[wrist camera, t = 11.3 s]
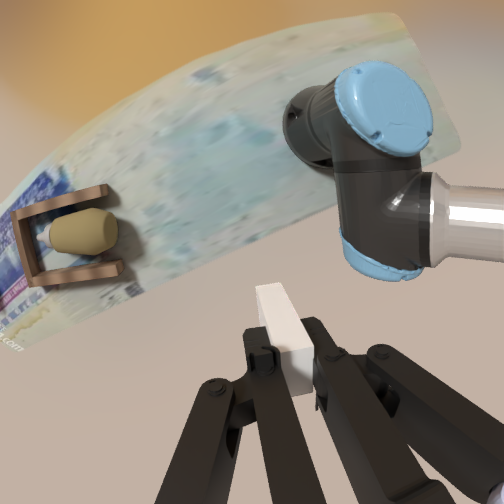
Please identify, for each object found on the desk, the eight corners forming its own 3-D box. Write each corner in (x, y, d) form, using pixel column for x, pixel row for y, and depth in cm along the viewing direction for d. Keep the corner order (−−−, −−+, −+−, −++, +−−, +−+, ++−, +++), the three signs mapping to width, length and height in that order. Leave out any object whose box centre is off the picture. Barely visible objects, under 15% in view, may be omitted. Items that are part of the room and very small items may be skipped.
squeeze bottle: (114, 264, 42) (41, 267, 42) (125, 228, 47) (55, 236, 47) (94, 230, 36) (19, 239, 35) (110, 195, 41) (37, 208, 41)
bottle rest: (107, 183, 43) (99, 184, 40) (124, 269, 48) (118, 275, 44) (19, 209, 41) (10, 212, 38) (37, 281, 46) (29, 287, 43)
